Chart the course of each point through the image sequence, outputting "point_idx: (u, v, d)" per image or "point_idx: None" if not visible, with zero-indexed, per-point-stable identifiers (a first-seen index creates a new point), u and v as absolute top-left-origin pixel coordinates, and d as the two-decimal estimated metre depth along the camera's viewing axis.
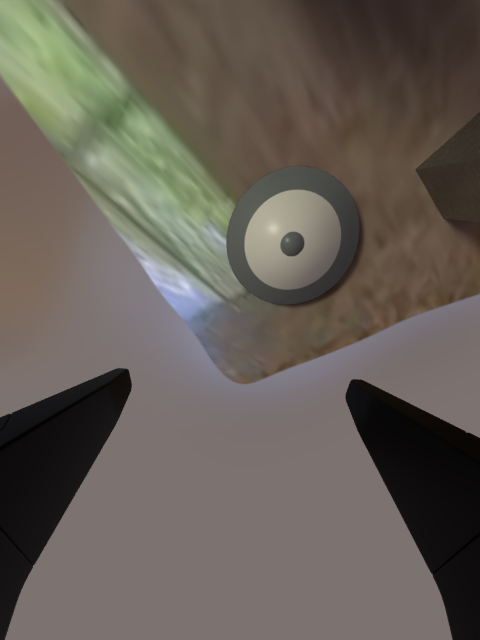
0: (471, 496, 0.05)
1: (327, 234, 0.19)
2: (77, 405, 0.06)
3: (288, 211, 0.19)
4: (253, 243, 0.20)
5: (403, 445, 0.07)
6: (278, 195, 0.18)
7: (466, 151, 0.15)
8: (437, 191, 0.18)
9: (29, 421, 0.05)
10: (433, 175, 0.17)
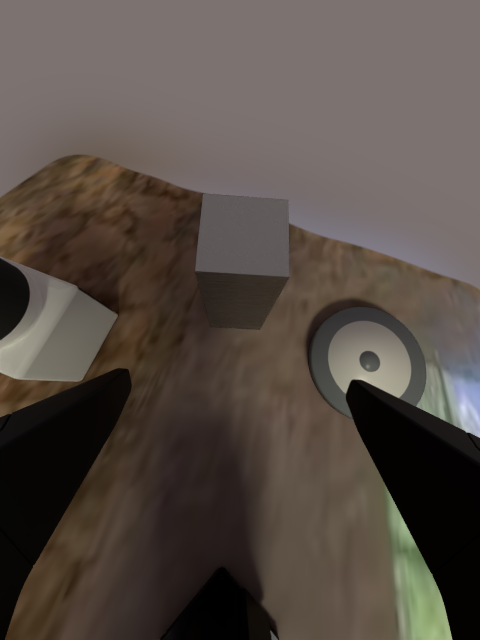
0: (471, 496, 0.05)
1: (342, 344, 0.23)
2: (77, 405, 0.06)
3: None
4: (395, 388, 0.22)
5: (403, 445, 0.07)
6: None
7: (255, 319, 0.21)
8: None
9: (29, 421, 0.05)
10: None
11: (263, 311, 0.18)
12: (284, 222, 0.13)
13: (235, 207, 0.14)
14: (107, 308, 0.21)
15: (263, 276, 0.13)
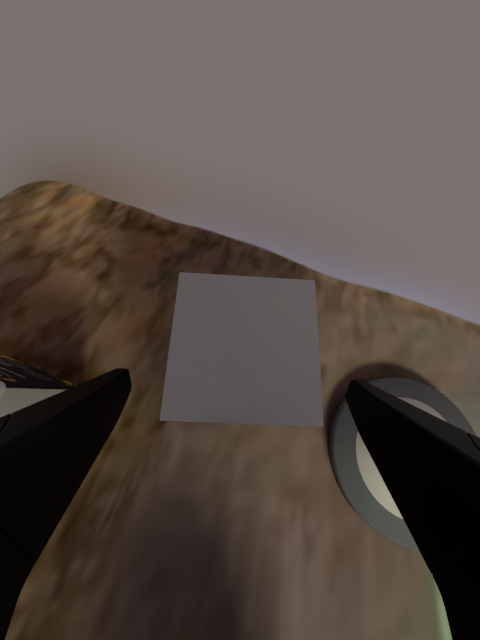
0: (471, 496, 0.05)
1: None
2: (77, 405, 0.06)
3: None
4: None
5: (403, 445, 0.07)
6: (397, 513, 0.16)
7: None
8: None
9: (29, 421, 0.05)
10: None
11: None
12: (310, 321, 0.08)
13: (231, 296, 0.08)
14: (63, 389, 0.16)
15: None
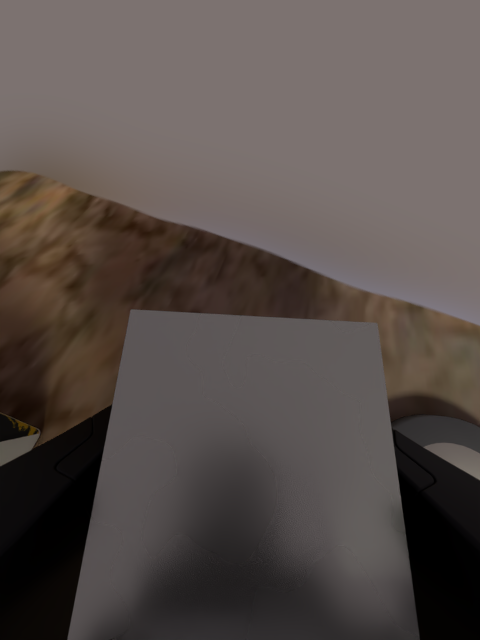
0: None
1: None
2: None
3: None
4: None
5: None
6: None
7: None
8: None
9: None
10: None
11: None
12: (375, 405, 0.04)
13: (225, 357, 0.04)
14: (9, 439, 0.12)
15: None
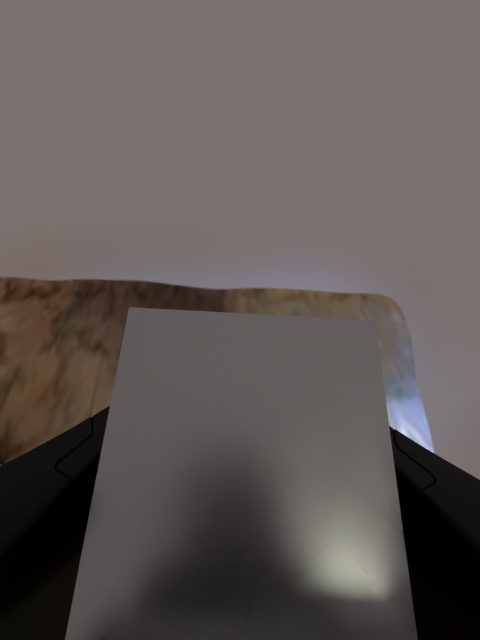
0: None
1: None
2: None
3: None
4: None
5: None
6: None
7: None
8: None
9: None
10: None
11: None
12: (373, 402, 0.04)
13: (223, 354, 0.04)
14: None
15: None
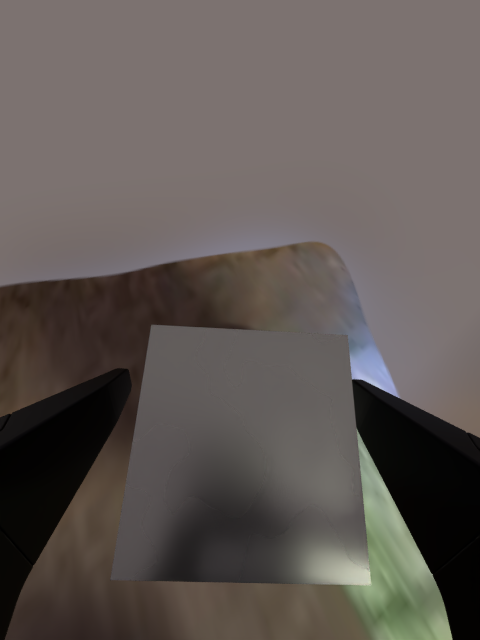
0: (471, 496, 0.05)
1: None
2: (77, 405, 0.06)
3: None
4: None
5: (403, 445, 0.07)
6: None
7: None
8: None
9: (29, 421, 0.05)
10: None
11: None
12: (343, 400, 0.06)
13: (226, 362, 0.06)
14: None
15: (301, 579, 0.05)
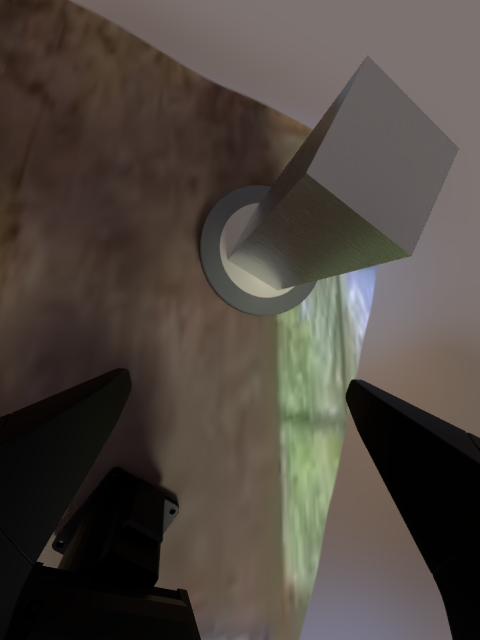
0: (471, 496, 0.05)
1: (236, 232, 0.19)
2: (77, 404, 0.06)
3: (252, 276, 0.20)
4: None
5: (403, 445, 0.07)
6: (250, 292, 0.20)
7: (288, 279, 0.17)
8: None
9: (29, 421, 0.05)
10: None
11: (311, 276, 0.14)
12: (440, 177, 0.09)
13: (396, 112, 0.09)
14: None
15: (383, 236, 0.09)
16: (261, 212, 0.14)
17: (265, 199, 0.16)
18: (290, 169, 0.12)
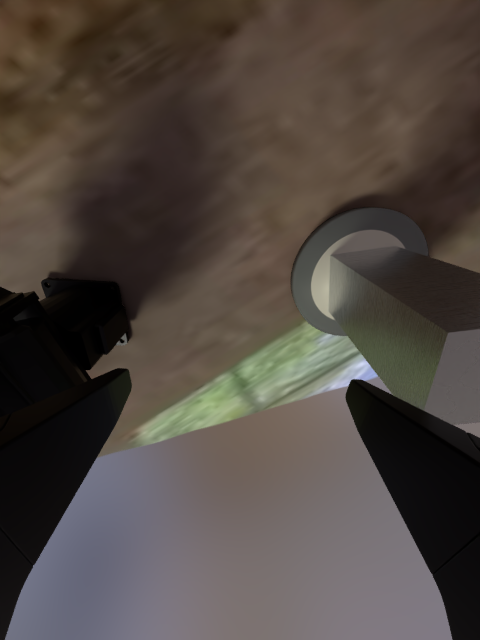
0: (471, 496, 0.05)
1: (361, 244, 0.18)
2: (77, 405, 0.06)
3: (328, 284, 0.20)
4: None
5: (403, 445, 0.07)
6: (313, 292, 0.20)
7: (344, 321, 0.18)
8: None
9: (29, 421, 0.05)
10: None
11: (358, 343, 0.16)
12: None
13: None
14: None
15: (423, 404, 0.10)
16: (393, 273, 0.14)
17: (409, 261, 0.15)
18: (450, 284, 0.11)
